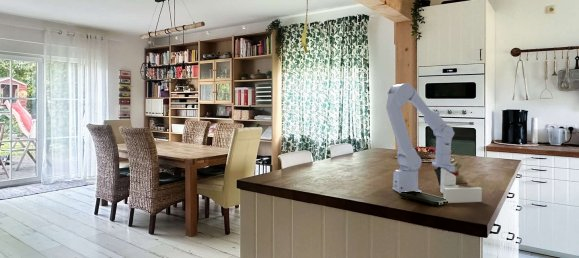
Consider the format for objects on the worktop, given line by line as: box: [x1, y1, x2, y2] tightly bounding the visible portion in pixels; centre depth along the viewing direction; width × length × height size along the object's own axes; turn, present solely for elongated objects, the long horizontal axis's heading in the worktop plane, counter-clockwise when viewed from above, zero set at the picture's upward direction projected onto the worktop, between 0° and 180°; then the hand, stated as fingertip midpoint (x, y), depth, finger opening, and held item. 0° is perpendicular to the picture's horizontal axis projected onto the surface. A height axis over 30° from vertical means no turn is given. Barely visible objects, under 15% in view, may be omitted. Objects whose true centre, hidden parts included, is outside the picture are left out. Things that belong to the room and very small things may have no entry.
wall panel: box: [442, 186, 483, 204], centre depth 138 cm, size 14×2×5 cm, turn 97°
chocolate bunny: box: [451, 160, 468, 184], centre depth 173 cm, size 6×8×10 cm
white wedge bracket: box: [439, 168, 460, 194], centre depth 151 cm, size 4×10×9 cm, turn 106°
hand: (442, 185), depth 157 cm, fingers closed
